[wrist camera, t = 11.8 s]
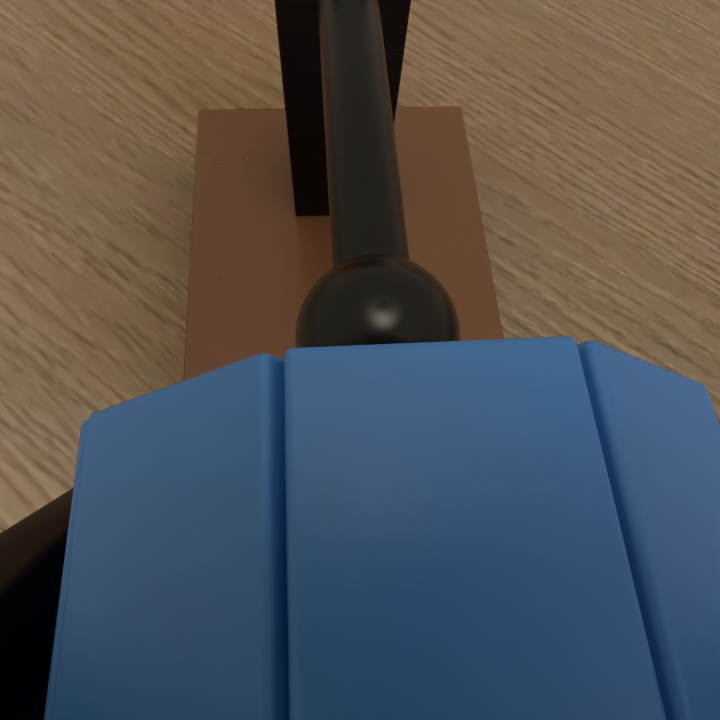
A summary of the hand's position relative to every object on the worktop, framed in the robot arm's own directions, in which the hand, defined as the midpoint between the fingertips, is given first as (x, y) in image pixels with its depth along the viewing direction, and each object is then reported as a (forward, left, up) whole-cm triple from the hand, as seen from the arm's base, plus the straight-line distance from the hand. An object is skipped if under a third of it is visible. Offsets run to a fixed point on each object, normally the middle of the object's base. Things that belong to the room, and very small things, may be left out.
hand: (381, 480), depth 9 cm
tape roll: (-1, -1, -2) cm, 3 cm away
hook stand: (+7, +4, -8) cm, 11 cm away
